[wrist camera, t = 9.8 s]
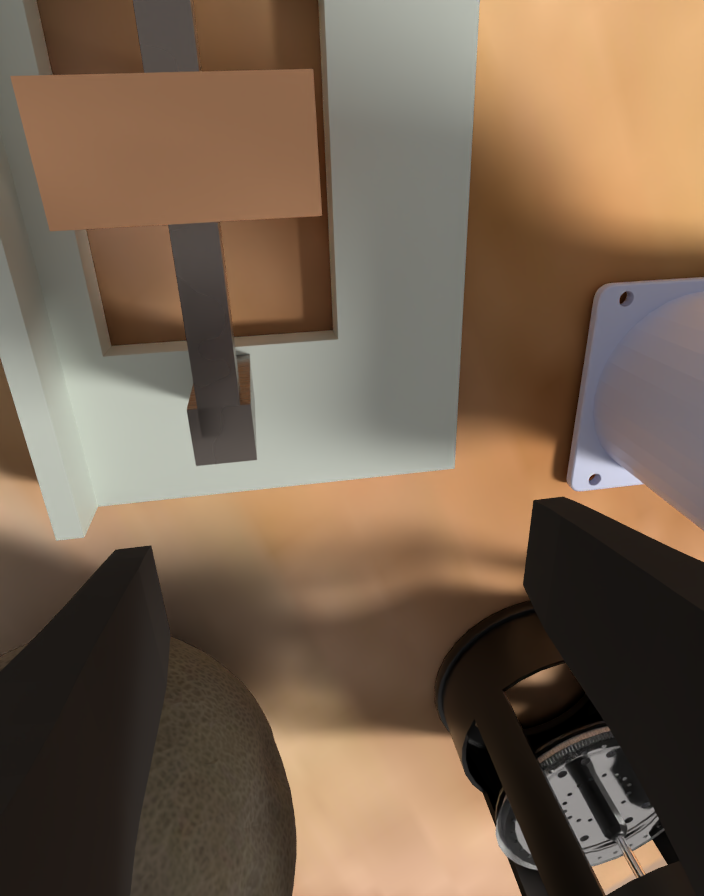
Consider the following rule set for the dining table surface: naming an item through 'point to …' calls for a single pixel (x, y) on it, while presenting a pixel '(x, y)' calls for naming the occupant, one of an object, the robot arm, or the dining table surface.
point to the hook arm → (202, 274)
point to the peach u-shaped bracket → (172, 146)
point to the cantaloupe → (212, 790)
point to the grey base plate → (276, 355)
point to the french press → (547, 769)
